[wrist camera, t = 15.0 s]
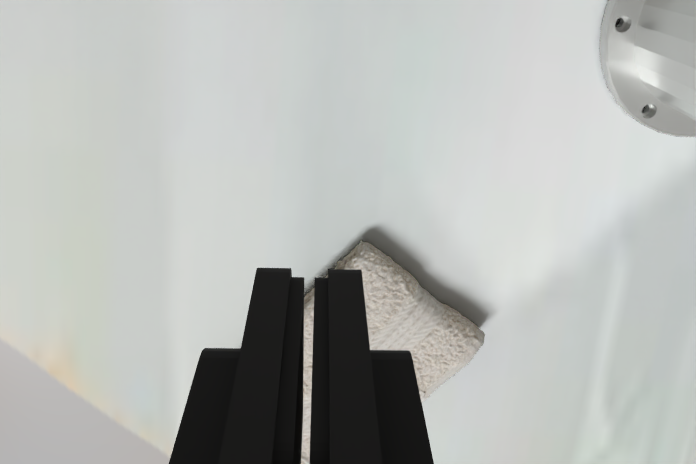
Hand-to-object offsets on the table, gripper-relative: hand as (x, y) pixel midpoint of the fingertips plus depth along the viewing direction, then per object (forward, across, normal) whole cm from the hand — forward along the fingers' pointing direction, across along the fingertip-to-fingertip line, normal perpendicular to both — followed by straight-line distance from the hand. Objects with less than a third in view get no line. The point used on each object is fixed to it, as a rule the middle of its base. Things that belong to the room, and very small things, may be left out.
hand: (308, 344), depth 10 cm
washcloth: (+28, -2, +22) cm, 36 cm away
